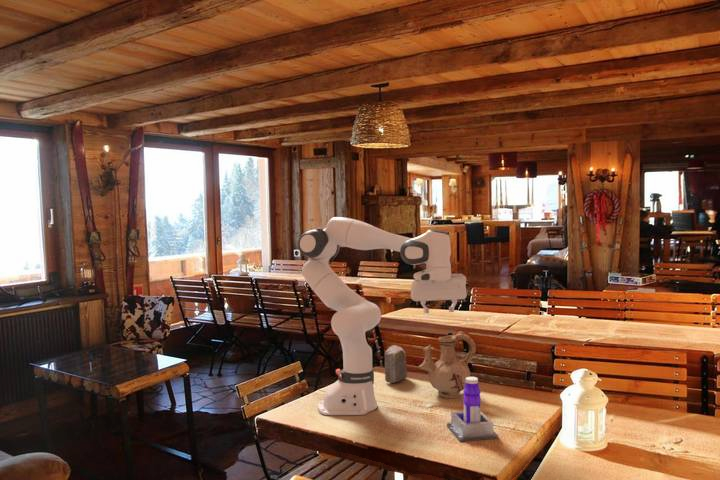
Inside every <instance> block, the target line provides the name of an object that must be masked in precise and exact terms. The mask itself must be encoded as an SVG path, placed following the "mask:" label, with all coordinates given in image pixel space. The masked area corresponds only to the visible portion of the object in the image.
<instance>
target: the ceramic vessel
mask: <svg viewBox="0 0 720 480" xmlns="http://www.w3.org/2000/svg"><path fill="white" fill-rule="evenodd" d="M460 340H462V341H464V342H466V343H467V345H468V346H469V351H468V353H467V354H466V356H465V358H463V359H460V358H458V357H457V353H456V349H455V346H456V344H457V342H459V341H460ZM438 342H439V346H440V358H439V360H437V361H434V359H433V358H432V351H431V350H432V343H430V344H429V345H428V346H427V347H423V349H422V354H423V355H424V360H423V362H422V363H421V364H419V365H418V368H417V369H421V370H424V371H427V372H428V379H429V383H430V385H431V387H433V388H434V389H435V390H437V393H438V395H439V396H441V397H442V398H445V399H456V398H460V394H461V392H462V391H463V390H464V388H465V385H466V377H471V372H470V371H471V370H470V368H469V365H468V364H469V363H471V361H472V360H473V358H474V356H475V355H476V350H477V347H476V346H477V345H476V343H475V341H474V339H473V338H472V337H471V336H470V335H467V334H465V333H456V334H453V335H451V334H449V335H444V336H438Z"/></svg>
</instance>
